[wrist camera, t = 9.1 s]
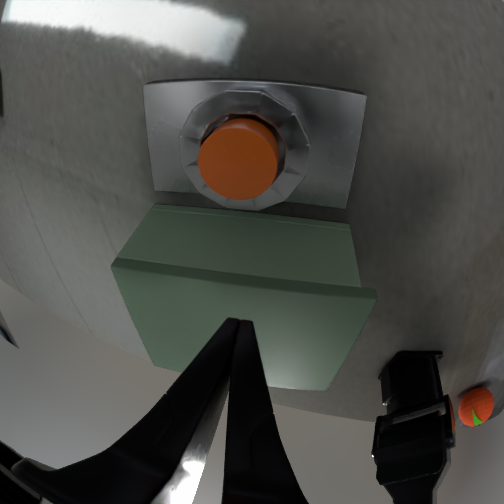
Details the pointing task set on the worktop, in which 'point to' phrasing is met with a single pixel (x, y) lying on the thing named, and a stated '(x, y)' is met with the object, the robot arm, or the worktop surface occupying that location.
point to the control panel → (270, 115)
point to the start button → (239, 159)
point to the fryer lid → (245, 307)
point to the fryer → (246, 244)
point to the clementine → (476, 407)
